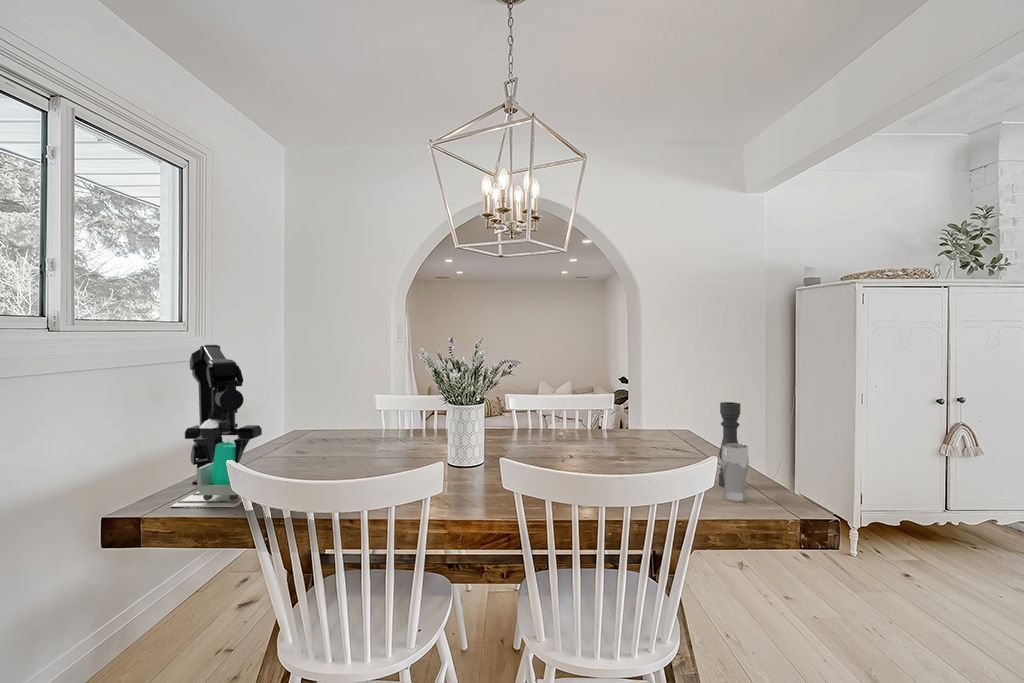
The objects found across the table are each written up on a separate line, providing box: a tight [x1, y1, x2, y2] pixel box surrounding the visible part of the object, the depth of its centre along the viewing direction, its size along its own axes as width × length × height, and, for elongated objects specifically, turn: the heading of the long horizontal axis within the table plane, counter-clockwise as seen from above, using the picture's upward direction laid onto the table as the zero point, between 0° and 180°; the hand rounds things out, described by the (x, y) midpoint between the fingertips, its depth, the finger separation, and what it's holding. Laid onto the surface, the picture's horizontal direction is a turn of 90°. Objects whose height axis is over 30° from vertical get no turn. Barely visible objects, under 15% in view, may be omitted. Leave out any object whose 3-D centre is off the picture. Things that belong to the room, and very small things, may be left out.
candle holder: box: [718, 401, 741, 488], centre depth 165 cm, size 6×6×25 cm
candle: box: [211, 439, 236, 485], centre depth 151 cm, size 6×6×12 cm
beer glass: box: [721, 443, 749, 503], centre depth 152 cm, size 7×7×15 cm
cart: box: [196, 462, 238, 501], centre depth 151 cm, size 10×11×9 cm
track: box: [169, 491, 242, 509], centre depth 151 cm, size 13×17×1 cm
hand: (224, 462), depth 151 cm, fingers open, 7 cm apart
